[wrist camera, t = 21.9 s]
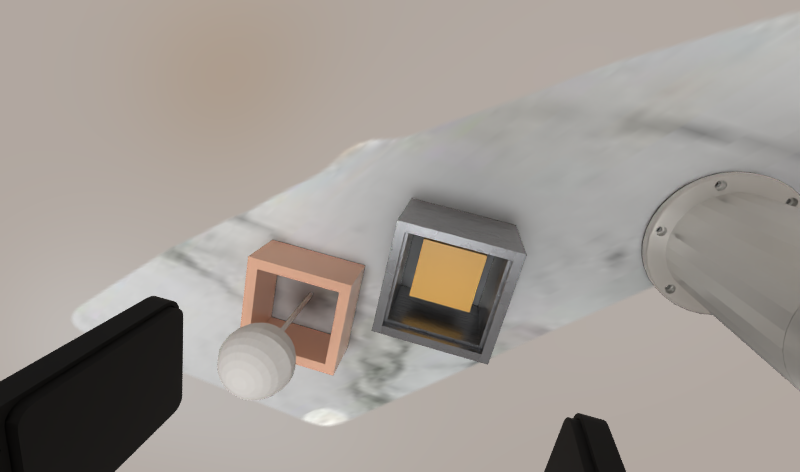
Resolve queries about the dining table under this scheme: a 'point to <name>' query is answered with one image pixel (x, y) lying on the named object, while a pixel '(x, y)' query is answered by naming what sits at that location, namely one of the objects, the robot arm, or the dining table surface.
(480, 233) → the box
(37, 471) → the robot arm
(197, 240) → the dining table surface
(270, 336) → the lollipop
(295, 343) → the tool holder
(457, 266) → the tan square block
